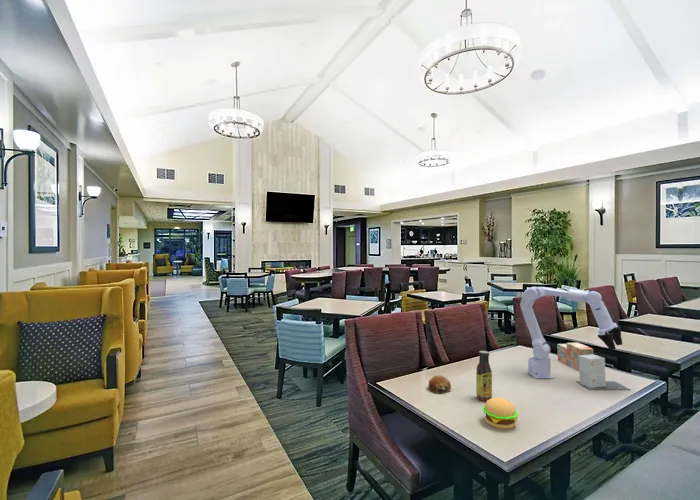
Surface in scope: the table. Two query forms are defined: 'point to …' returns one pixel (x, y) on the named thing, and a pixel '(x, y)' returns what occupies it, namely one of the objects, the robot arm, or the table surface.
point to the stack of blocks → (572, 353)
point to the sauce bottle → (484, 377)
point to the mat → (608, 386)
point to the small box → (592, 371)
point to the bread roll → (439, 384)
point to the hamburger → (500, 413)
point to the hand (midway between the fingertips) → (616, 347)
